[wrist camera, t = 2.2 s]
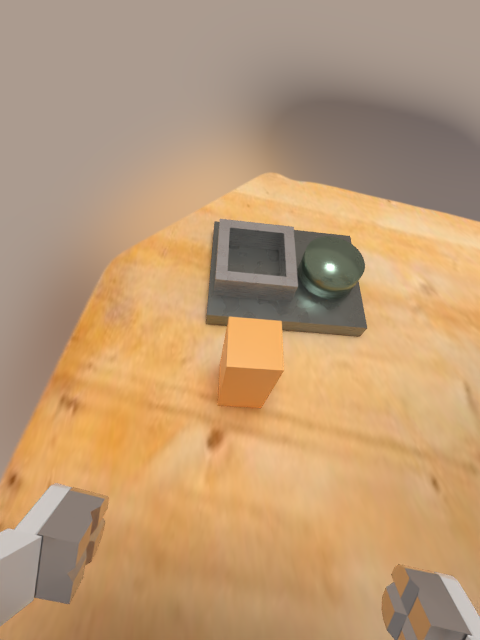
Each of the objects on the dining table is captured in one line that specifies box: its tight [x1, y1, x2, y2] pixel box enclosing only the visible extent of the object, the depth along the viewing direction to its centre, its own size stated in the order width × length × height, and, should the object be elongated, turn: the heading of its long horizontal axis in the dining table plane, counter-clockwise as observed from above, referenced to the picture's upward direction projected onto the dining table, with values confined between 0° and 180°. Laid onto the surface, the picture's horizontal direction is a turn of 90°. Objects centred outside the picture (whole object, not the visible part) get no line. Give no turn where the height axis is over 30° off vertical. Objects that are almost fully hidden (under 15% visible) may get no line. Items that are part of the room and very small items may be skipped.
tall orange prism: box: [218, 317, 284, 408], centre depth 32 cm, size 4×4×10 cm
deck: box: [206, 219, 367, 336], centre depth 42 cm, size 18×14×5 cm
